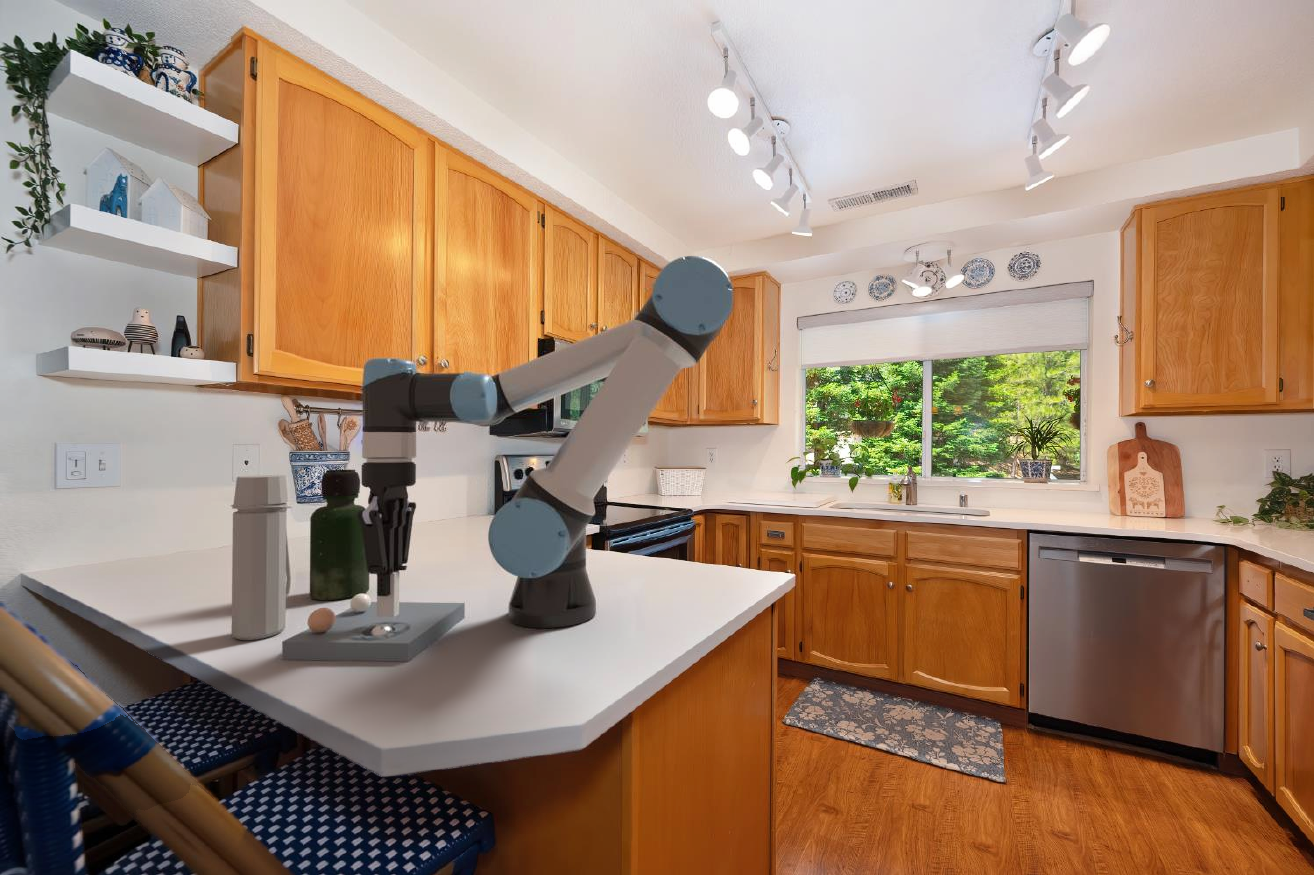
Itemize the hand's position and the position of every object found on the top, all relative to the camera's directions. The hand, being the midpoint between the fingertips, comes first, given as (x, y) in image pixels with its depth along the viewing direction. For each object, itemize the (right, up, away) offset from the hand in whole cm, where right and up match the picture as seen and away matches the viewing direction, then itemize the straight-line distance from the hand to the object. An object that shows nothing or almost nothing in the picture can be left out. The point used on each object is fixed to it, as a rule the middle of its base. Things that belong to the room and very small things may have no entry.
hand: (387, 615), depth 86 cm
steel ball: (0, -2, -2) cm, 3 cm away
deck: (-2, -4, +2) cm, 5 cm away
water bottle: (-22, -4, +4) cm, 23 cm away
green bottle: (-23, -5, +27) cm, 36 cm away
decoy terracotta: (-8, 0, -3) cm, 9 cm away
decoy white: (-8, 0, +7) cm, 10 cm away
